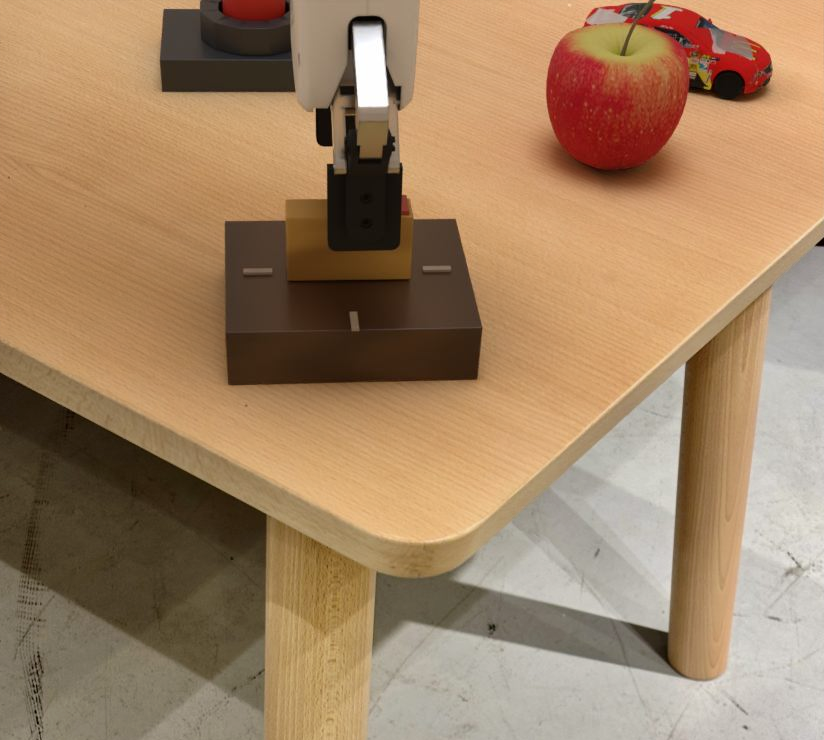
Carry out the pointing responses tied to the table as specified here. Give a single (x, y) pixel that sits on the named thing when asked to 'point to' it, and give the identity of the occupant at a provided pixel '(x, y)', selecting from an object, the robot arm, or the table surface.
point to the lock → (319, 262)
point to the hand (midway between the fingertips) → (355, 192)
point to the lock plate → (348, 314)
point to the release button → (254, 9)
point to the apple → (616, 92)
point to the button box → (225, 51)
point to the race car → (700, 46)
